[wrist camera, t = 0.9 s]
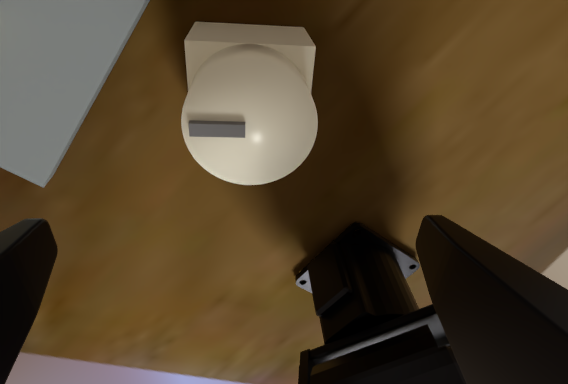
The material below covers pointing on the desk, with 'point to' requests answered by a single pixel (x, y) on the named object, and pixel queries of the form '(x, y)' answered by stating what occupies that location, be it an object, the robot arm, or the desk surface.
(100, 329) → the desk surface
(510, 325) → the robot arm
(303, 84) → the knob
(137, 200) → the desk surface
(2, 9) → the panel
